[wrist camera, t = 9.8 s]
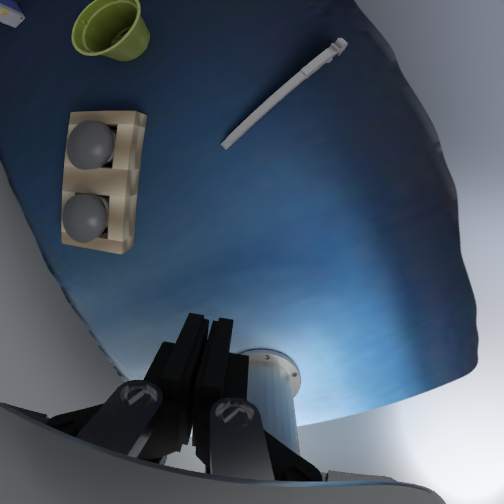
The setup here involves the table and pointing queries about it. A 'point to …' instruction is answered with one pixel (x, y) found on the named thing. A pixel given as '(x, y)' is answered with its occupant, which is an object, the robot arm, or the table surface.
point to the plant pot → (111, 30)
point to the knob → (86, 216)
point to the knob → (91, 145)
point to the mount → (110, 179)
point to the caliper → (286, 90)
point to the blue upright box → (10, 13)
